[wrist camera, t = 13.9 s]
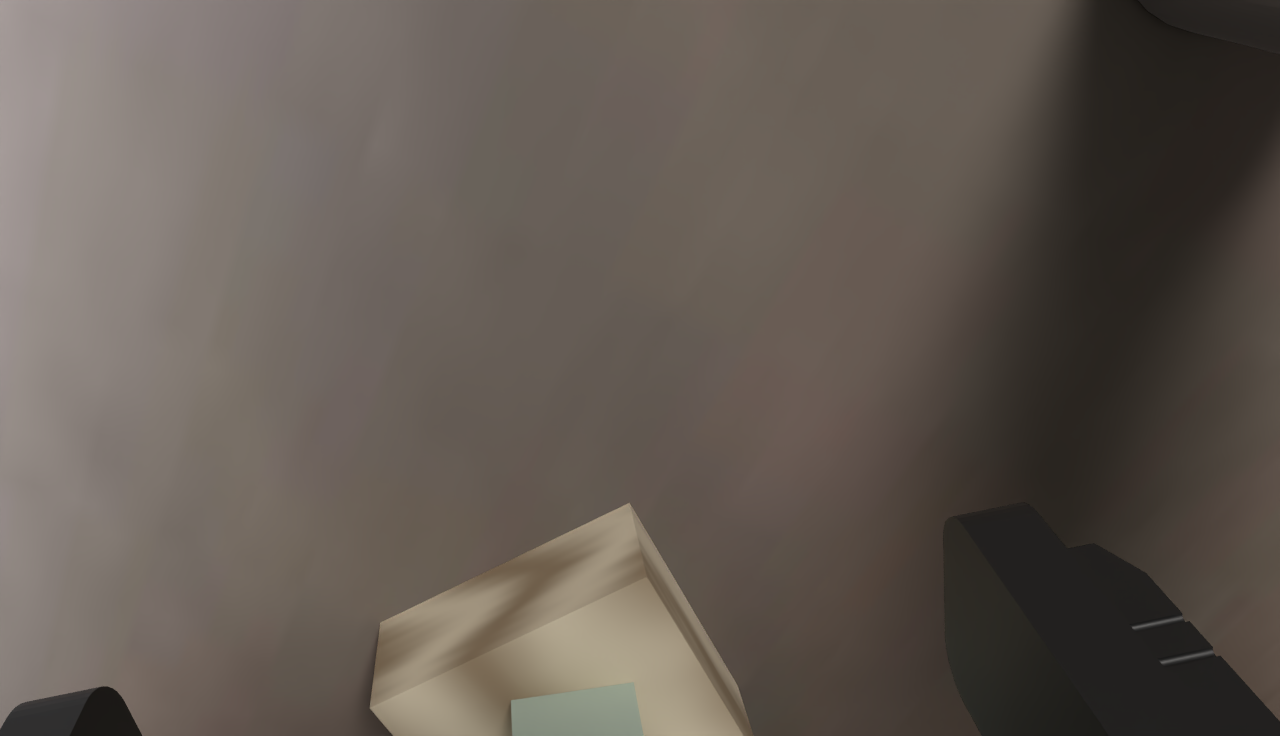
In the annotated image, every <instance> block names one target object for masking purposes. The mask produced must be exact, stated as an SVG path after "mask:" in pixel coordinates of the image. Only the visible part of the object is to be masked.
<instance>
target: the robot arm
mask: <svg viewBox="0 0 1280 736" xmlns="http://www.w3.org/2000/svg"><path fill="white" fill-rule="evenodd" d="M1138 1H1139V2H1140V3H1141V4H1142V5H1143V7H1144V8H1145V9H1146V10H1147V11H1149V12H1150V13H1151V14H1153V15H1154V16H1156V17H1157V18H1159V19H1160V20H1162V21H1163V22H1165V23H1166V24H1168V25H1171V26H1174V27H1177V28H1180V29H1183V30H1186V31H1189V32H1193V33H1197V34H1201V35H1205V36H1209V37H1213V38H1217V39H1221V40H1225V41H1230V42H1234V43H1238V44H1242V45H1246V46H1250V47H1254V48H1257V49H1260V50H1264V51H1268V52H1272V53H1276V54H1280V0H1138ZM943 549H944V608H945V642H946V649H947V655H948V659H949V664H950V667H951V671H952V674H953V677H954V681H955V683H956V686H957V689H958V691H959V694H960V696H961V698H962V700H963V702H964V704H965V706H966V708H967V710H968V711H969V713H970V715H971V717H972V719H973V720H974V722H975V724H976V726H977V728H978V730H979V731H980V733H981V735H982V736H1280V721H1279V720H1278V719H1277V718H1276V717H1275V716H1274V715H1273V713H1272V712H1271V711H1270V710H1269V709H1268V708H1267V707H1266V706H1265V705H1264V703H1263V702H1262V701H1261V700H1260V699H1259V698H1258V697H1257V696H1256V695H1255V693H1254V692H1253V691H1252V690H1251V689H1250V688H1249V687H1248V686H1247V685H1246V684H1245V682H1244V681H1243V680H1242V679H1241V678H1240V677H1239V676H1238V675H1237V674H1236V672H1235V671H1234V670H1233V669H1232V668H1231V667H1230V666H1229V665H1228V664H1227V662H1226V661H1225V660H1224V659H1223V658H1222V657H1221V656H1217V657H1216V656H1215V654H1214V652H1213V647H1212V646H1211V645H1210V644H1209V642H1208V641H1207V640H1206V639H1205V638H1204V637H1203V636H1202V635H1201V634H1200V632H1199V631H1198V630H1197V629H1196V628H1195V627H1194V626H1193V625H1192V624H1191V622H1190V621H1188V622H1185V621H1184V619H1183V617H1182V613H1181V611H1180V610H1179V609H1178V608H1177V607H1176V606H1175V605H1174V604H1173V603H1172V601H1171V600H1170V599H1169V598H1168V597H1167V596H1166V595H1165V594H1164V593H1163V591H1162V590H1161V589H1160V588H1159V587H1158V586H1157V585H1156V584H1155V583H1154V581H1153V580H1152V579H1151V578H1150V577H1149V576H1148V575H1147V574H1146V573H1145V572H1143V571H1141V570H1140V569H1138V568H1136V567H1134V566H1133V565H1131V564H1129V563H1128V562H1126V561H1124V560H1122V559H1121V558H1119V557H1117V556H1115V555H1114V554H1112V553H1110V552H1108V551H1107V550H1105V549H1103V548H1101V547H1100V546H1098V545H1096V544H1094V543H1093V544H1088V545H1084V546H1079V547H1074V548H1069V549H1067V548H1066V547H1065V545H1064V544H1063V543H1062V542H1061V541H1060V539H1059V538H1058V537H1057V536H1056V534H1055V533H1054V532H1053V531H1052V530H1051V528H1050V527H1049V526H1048V525H1047V523H1046V522H1045V521H1044V520H1043V519H1042V517H1041V516H1040V515H1039V514H1038V513H1037V511H1036V510H1035V509H1034V508H1033V507H1031V506H1030V505H1029V504H1026V503H1017V504H1012V505H1007V506H1003V507H998V508H993V509H988V510H983V511H978V512H973V513H968V514H963V515H958V516H953V517H950V518H948V519H947V520H946V522H945V526H944V532H943ZM0 736H142V734H141V732H140V730H139V729H138V727H137V725H136V723H135V721H134V719H133V717H132V715H131V713H130V711H129V709H128V707H127V705H126V704H125V702H124V700H123V699H122V697H121V696H120V695H119V693H118V692H117V691H115V690H114V689H113V688H110V687H98V688H93V689H88V690H83V691H78V692H73V693H68V694H63V695H58V696H54V697H49V698H44V699H39V700H34V701H29V702H25V703H22V704H20V705H18V706H17V707H15V708H14V709H13V710H12V711H11V713H10V714H9V716H8V717H7V719H6V720H5V722H4V724H3V726H2V727H1V729H0Z"/></svg>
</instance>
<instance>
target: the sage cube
mask: <svg viewBox="0 0 1280 736" xmlns="http://www.w3.org/2000/svg"><path fill="white" fill-rule="evenodd" d="M511 717H512V736H644V735H643V730H642V725H641V719H640V714H639V708H638V703H637V698H636V692H635V687H634V682H632V683H625V684H618V685H612V686H605V687H598V688H591V689H584V690H578V691H571V692H564V693H557V694H550V695H543V696H537V697H530V698H523V699H516V700H511Z"/></svg>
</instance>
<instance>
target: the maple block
mask: <svg viewBox="0 0 1280 736" xmlns="http://www.w3.org/2000/svg"><path fill="white" fill-rule="evenodd" d="M632 682H634V687H635V692H636V698H637V703H638V708H639V714H640V719H641V725H642V730H643V735H644V736H753V733H752V730H751V727H750V723H749V720H748V717H747V714H746V711H745V708H744V704H743V701H742V698H741V695H740V692H739V688H738V686H737V684H736V682H735V681H734V679H733V677H732V676H731V674H730V672H729V670H728V669H727V667H726V665H725V664H724V662H723V660H722V659H721V657H720V655H719V654H718V652H717V650H716V648H715V647H714V645H713V643H712V642H711V640H710V638H709V637H708V635H707V633H706V632H705V630H704V628H703V627H702V625H701V623H700V621H699V620H698V618H697V616H696V615H695V613H694V611H693V610H692V608H691V606H690V605H689V603H688V601H687V599H686V598H685V596H684V594H683V593H682V591H681V589H680V588H679V586H678V584H677V583H676V581H675V579H674V577H673V576H672V574H671V572H670V571H669V569H668V567H667V566H666V564H665V562H664V561H663V559H662V557H661V555H660V554H659V552H658V550H657V549H656V547H655V545H654V544H653V542H652V540H651V539H650V537H649V535H648V533H647V532H646V530H645V528H644V527H643V525H642V523H641V522H640V520H639V518H638V517H637V515H636V513H635V511H634V510H633V508H632V506H631V505H630V503H628V504H626V505H624V506H622V507H620V508H618V509H616V510H614V511H612V512H609V513H607V514H605V515H603V516H601V517H599V518H597V519H595V520H593V521H591V522H589V523H587V524H585V525H582V526H580V527H578V528H576V529H574V530H572V531H570V532H568V533H566V534H564V535H562V536H560V537H558V538H555V539H553V540H551V541H549V542H547V543H545V544H543V545H541V546H539V547H537V548H535V549H533V550H531V551H528V552H526V553H524V554H522V555H520V556H518V557H516V558H514V559H512V560H510V561H508V562H506V563H504V564H501V565H499V566H497V567H495V568H493V569H491V570H489V571H487V572H485V573H483V574H481V575H479V576H476V577H474V578H472V579H470V580H468V581H466V582H464V583H462V584H460V585H458V586H456V587H454V588H452V589H449V590H447V591H445V592H443V593H441V594H439V595H437V596H435V597H433V598H431V599H429V600H427V601H425V602H422V603H420V604H418V605H416V606H414V607H412V608H410V609H408V610H406V611H404V612H402V613H400V614H398V615H395V616H393V617H391V618H389V619H387V620H385V621H383V622H381V623H380V630H379V638H378V646H377V654H376V662H375V670H374V678H373V686H372V693H371V701H370V709H371V710H372V711H373V713H374V714H375V715H376V716H377V717H378V718H379V720H380V721H381V722H382V723H383V724H384V726H385V727H386V728H387V729H388V730H389V731H390V733H391V734H392V735H393V736H512V717H511V700H516V699H523V698H530V697H537V696H543V695H550V694H557V693H564V692H571V691H578V690H584V689H591V688H598V687H605V686H612V685H618V684H625V683H632Z"/></svg>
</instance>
